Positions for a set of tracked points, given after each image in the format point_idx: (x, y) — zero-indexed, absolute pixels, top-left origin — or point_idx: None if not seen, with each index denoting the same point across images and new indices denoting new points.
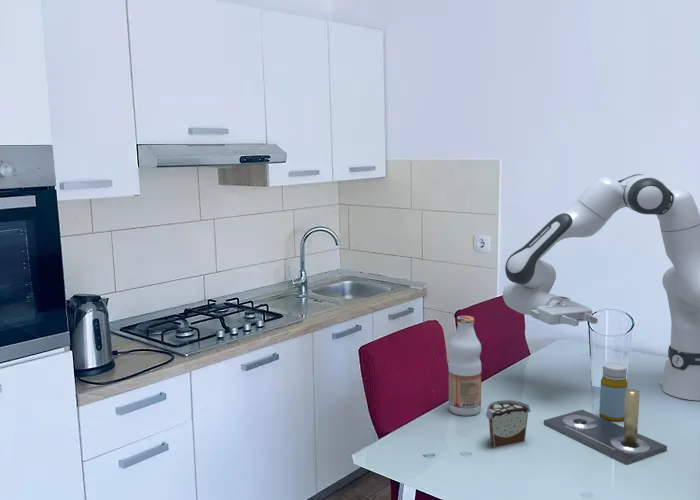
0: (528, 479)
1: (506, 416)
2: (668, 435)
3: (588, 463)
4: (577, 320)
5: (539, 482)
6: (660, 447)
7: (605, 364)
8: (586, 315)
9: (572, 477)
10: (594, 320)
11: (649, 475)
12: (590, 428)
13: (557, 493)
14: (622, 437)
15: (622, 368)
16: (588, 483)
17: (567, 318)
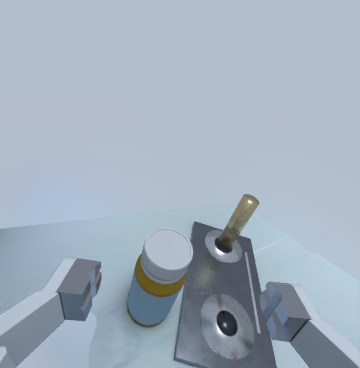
0: (355, 296)
1: None
2: None
3: (280, 267)
4: (281, 283)
5: (345, 285)
6: (202, 224)
7: (171, 267)
8: (7, 366)
9: (309, 267)
10: (98, 269)
11: None
12: (230, 297)
13: (333, 265)
14: (216, 255)
15: (169, 232)
16: (299, 253)
17: (350, 346)
